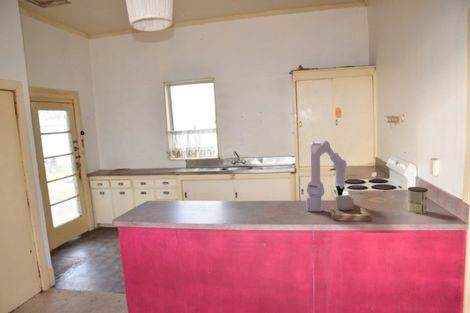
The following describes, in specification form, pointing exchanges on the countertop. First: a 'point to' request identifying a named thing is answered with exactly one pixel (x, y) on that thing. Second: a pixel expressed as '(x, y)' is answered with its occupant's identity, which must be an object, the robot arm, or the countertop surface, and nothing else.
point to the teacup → (344, 202)
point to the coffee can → (417, 200)
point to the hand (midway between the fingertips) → (339, 196)
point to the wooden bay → (351, 215)
